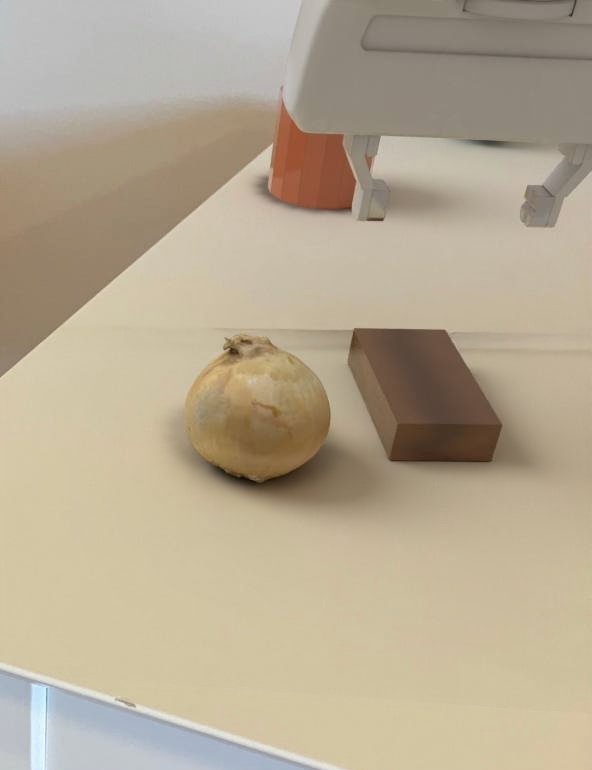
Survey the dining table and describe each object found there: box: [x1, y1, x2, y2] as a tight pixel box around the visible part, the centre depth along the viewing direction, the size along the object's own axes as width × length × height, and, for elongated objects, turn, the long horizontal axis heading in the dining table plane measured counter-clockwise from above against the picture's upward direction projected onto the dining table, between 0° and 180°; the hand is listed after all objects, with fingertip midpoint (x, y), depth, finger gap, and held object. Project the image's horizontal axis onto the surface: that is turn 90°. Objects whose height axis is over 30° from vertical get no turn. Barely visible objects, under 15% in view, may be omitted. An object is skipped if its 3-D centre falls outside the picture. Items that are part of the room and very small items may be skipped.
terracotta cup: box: [267, 84, 376, 210], centre depth 90 cm, size 8×8×9 cm
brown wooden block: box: [346, 327, 503, 462], centre depth 67 cm, size 6×12×2 cm, turn 2°
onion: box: [183, 333, 332, 484], centre depth 60 cm, size 8×8×7 cm
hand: (451, 221), depth 60 cm, fingers open, 8 cm apart
